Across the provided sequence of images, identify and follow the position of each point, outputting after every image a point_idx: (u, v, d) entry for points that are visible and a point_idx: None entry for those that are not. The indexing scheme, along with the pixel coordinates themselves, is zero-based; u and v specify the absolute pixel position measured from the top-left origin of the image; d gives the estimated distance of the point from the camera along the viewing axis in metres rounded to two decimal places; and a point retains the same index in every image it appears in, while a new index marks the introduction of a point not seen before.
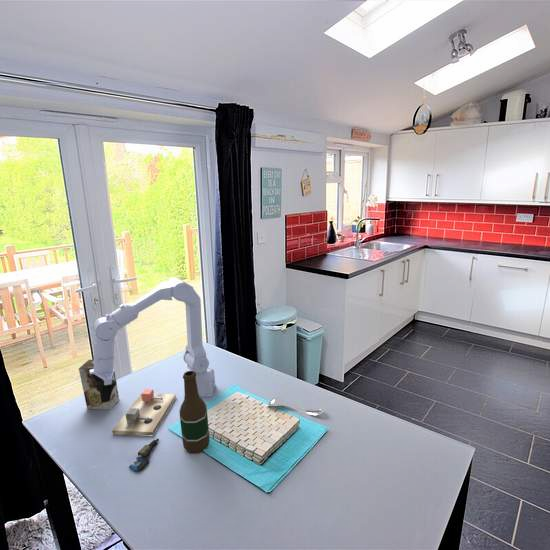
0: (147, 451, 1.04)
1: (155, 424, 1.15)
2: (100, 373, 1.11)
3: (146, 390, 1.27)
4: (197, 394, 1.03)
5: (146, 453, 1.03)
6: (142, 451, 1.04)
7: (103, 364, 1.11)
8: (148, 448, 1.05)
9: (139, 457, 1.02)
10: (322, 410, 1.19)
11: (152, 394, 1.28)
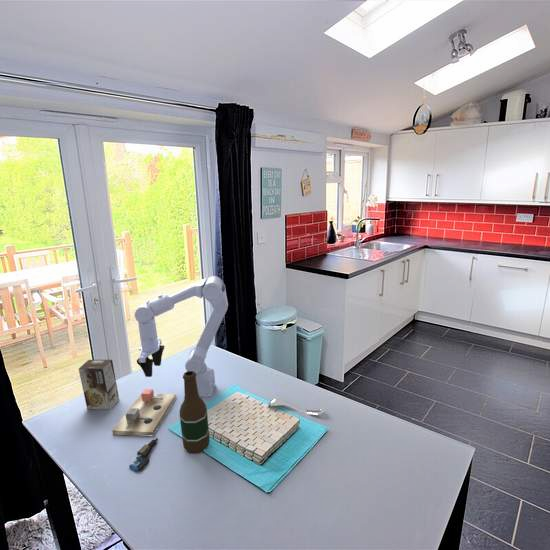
0: (147, 451, 1.04)
1: (155, 424, 1.15)
2: (143, 351, 1.27)
3: (146, 390, 1.27)
4: (197, 394, 1.03)
5: (146, 453, 1.03)
6: (141, 450, 1.04)
7: (143, 343, 1.26)
8: (147, 448, 1.05)
9: (139, 457, 1.02)
10: (322, 410, 1.19)
11: (152, 394, 1.28)
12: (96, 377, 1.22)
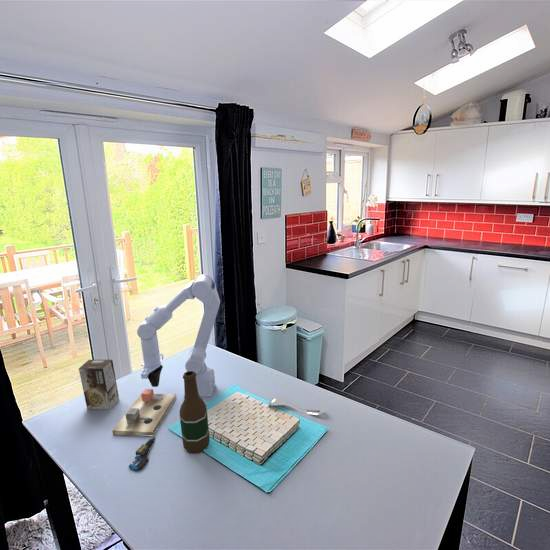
0: (145, 450, 1.04)
1: (155, 424, 1.15)
2: (145, 367, 1.29)
3: (146, 390, 1.27)
4: (197, 394, 1.03)
5: (144, 452, 1.04)
6: (139, 450, 1.04)
7: (146, 359, 1.28)
8: (145, 447, 1.05)
9: (137, 456, 1.02)
10: (322, 410, 1.19)
11: (152, 394, 1.28)
12: (96, 377, 1.22)
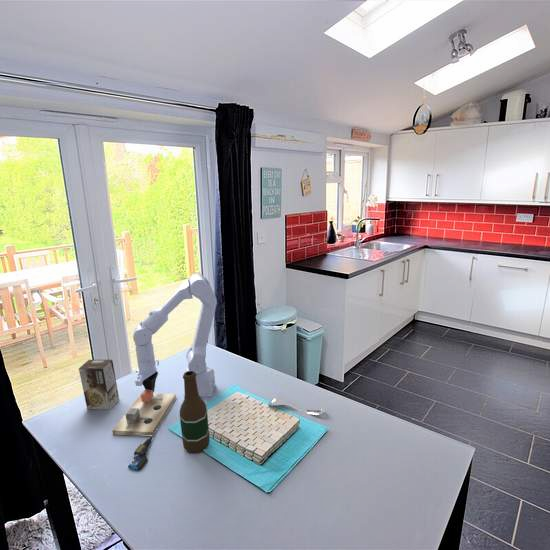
0: (144, 450, 1.04)
1: (155, 424, 1.15)
2: (140, 373, 1.25)
3: (146, 391, 1.27)
4: (197, 394, 1.03)
5: (143, 452, 1.04)
6: (138, 450, 1.04)
7: (140, 365, 1.24)
8: (144, 447, 1.05)
9: (136, 456, 1.02)
10: (323, 410, 1.19)
11: (152, 395, 1.27)
12: (96, 377, 1.22)
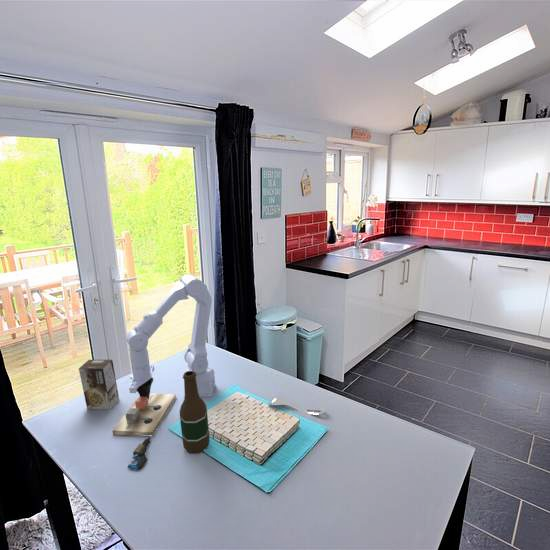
0: (143, 449, 1.05)
1: (155, 424, 1.15)
2: (134, 380, 1.21)
3: (140, 398, 1.23)
4: (197, 394, 1.03)
5: (142, 451, 1.04)
6: (137, 450, 1.04)
7: (135, 372, 1.20)
8: (143, 447, 1.06)
9: (136, 456, 1.03)
10: (323, 410, 1.19)
11: (146, 402, 1.23)
12: (96, 377, 1.22)
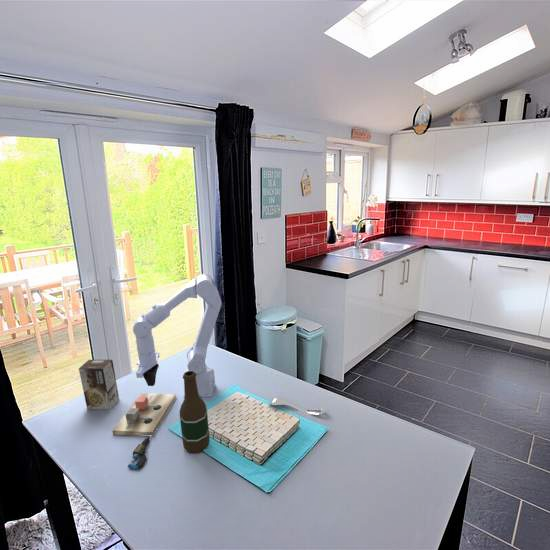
0: (142, 449, 1.05)
1: (155, 424, 1.15)
2: (140, 365, 1.25)
3: (140, 398, 1.23)
4: (197, 394, 1.03)
5: (142, 451, 1.04)
6: (136, 450, 1.04)
7: (141, 358, 1.24)
8: (142, 446, 1.06)
9: (135, 456, 1.03)
10: (323, 410, 1.19)
11: (146, 402, 1.23)
12: (96, 377, 1.22)
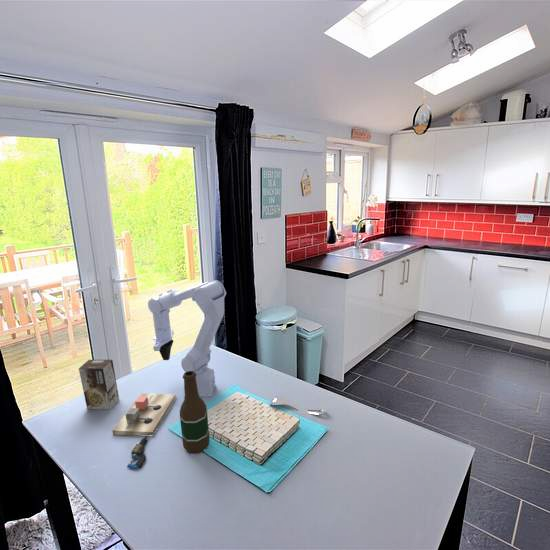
0: (141, 449, 1.05)
1: (155, 424, 1.15)
2: (157, 340, 1.35)
3: (140, 398, 1.23)
4: (197, 394, 1.03)
5: (141, 450, 1.04)
6: (135, 450, 1.05)
7: (157, 333, 1.34)
8: (141, 446, 1.06)
9: (134, 456, 1.03)
10: (324, 410, 1.19)
11: (146, 402, 1.23)
12: (96, 377, 1.22)
